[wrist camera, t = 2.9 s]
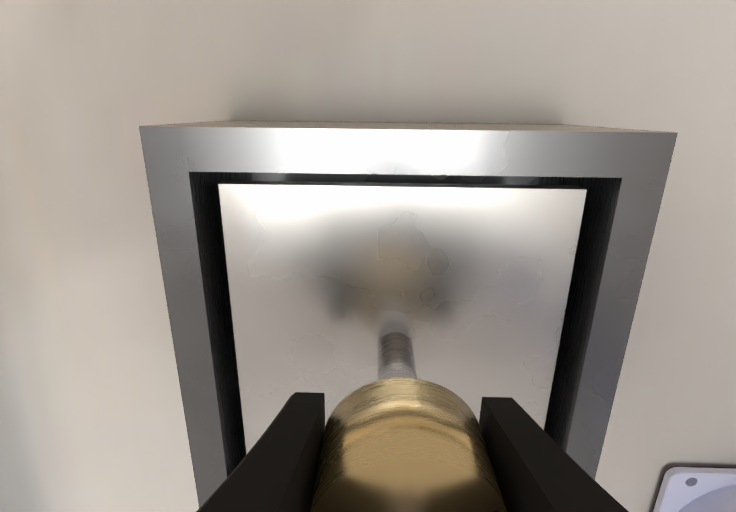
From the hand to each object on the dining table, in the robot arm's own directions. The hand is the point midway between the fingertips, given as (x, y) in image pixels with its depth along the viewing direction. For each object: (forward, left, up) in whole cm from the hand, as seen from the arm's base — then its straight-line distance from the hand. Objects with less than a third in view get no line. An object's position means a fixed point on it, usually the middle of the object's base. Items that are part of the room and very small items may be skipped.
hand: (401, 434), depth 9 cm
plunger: (0, 0, -4) cm, 4 cm away
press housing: (0, 0, -9) cm, 9 cm away
